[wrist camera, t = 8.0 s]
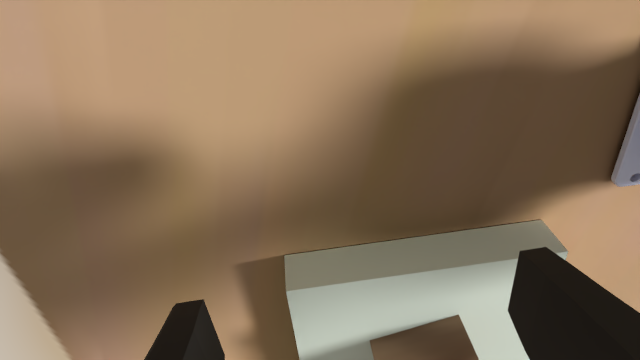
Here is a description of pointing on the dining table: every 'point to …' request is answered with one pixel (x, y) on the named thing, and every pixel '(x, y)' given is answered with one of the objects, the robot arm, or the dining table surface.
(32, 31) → the dining table surface
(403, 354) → the walnut cube
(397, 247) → the base
